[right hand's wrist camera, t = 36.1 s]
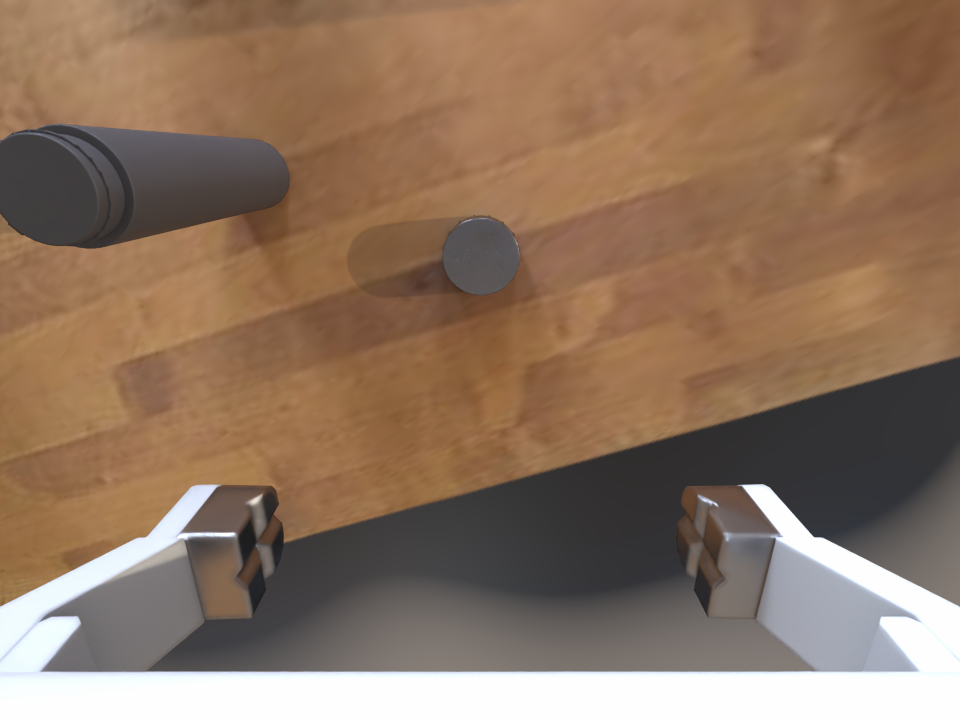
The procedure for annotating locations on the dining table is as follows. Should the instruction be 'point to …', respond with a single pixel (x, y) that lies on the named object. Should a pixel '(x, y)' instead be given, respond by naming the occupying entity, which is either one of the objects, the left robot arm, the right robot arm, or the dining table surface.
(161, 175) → the dark grey cylinder
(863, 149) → the dining table surface
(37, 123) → the dining table surface
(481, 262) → the lid
